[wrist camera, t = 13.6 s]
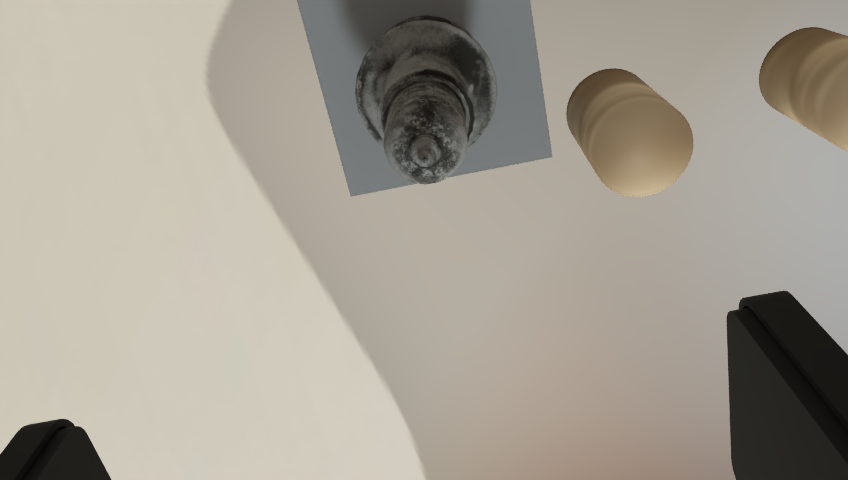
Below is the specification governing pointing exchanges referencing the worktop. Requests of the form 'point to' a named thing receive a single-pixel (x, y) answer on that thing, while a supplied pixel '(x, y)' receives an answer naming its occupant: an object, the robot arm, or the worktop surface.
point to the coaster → (486, 23)
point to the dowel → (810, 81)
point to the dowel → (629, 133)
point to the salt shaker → (426, 96)
